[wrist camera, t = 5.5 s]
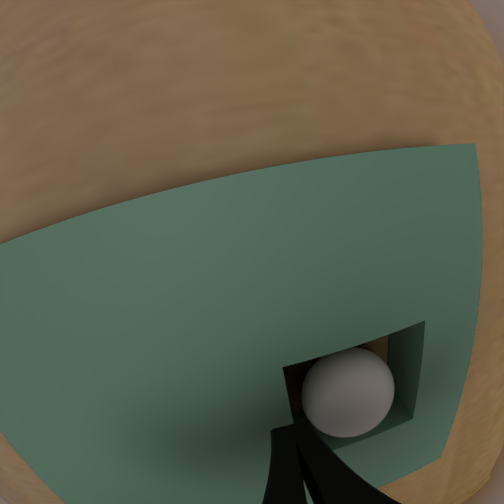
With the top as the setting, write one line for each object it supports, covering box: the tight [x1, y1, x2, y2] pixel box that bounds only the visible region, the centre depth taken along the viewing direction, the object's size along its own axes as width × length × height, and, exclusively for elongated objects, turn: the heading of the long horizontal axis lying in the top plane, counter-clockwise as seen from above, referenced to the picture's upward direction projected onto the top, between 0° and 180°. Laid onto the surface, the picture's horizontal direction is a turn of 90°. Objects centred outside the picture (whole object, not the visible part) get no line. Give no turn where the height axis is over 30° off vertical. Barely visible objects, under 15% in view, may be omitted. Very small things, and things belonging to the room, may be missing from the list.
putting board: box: [0, 143, 482, 504], centre depth 11 cm, size 18×24×3 cm
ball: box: [301, 347, 394, 438], centre depth 11 cm, size 4×4×4 cm
